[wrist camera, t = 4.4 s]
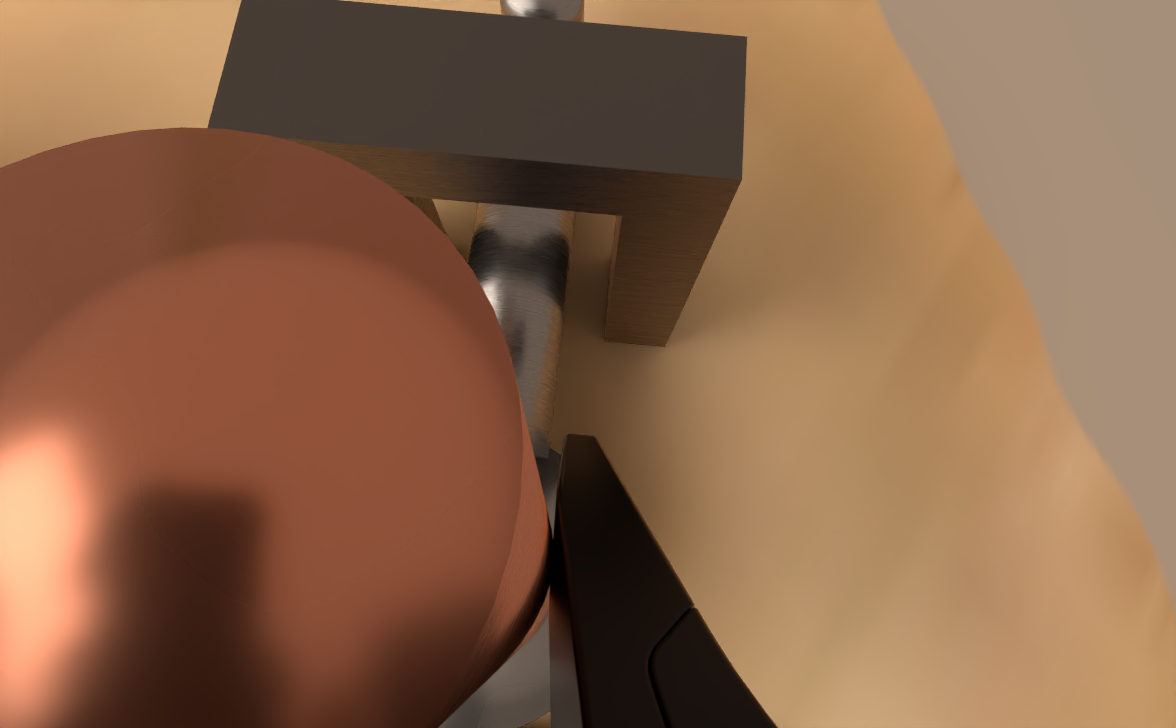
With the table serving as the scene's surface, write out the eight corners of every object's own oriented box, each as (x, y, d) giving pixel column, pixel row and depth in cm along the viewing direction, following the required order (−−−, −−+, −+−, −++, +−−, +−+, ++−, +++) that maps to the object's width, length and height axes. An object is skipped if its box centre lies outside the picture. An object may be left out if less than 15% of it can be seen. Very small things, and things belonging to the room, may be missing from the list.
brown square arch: (665, 346, 18) (741, 178, 10) (375, 319, 18) (207, 130, 10) (670, 262, 18) (747, 36, 10) (390, 236, 18) (243, -9, 10)
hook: (607, 738, 14) (857, 1639, 2) (321, 711, 14) (-1299, 1428, 2) (653, 83, 20) (790, -764, 8) (448, 65, 20) (251, -808, 8)
